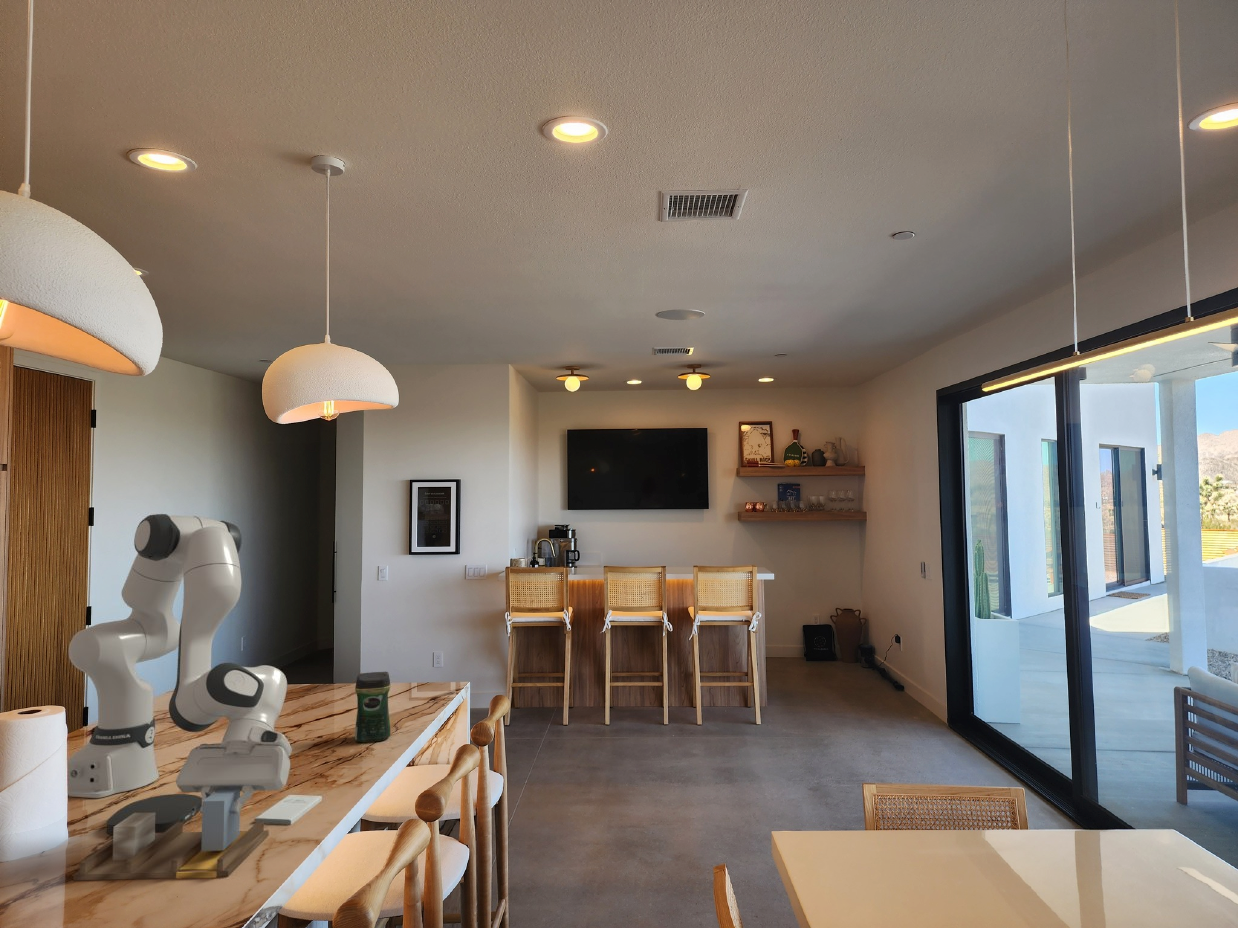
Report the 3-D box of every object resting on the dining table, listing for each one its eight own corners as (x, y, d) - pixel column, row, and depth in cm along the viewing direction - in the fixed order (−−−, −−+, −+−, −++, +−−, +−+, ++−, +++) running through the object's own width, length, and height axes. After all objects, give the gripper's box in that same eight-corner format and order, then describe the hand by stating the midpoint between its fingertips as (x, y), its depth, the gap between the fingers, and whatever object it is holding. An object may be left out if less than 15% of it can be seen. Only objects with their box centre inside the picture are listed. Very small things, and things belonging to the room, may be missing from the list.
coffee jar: (390, 732, 209) (391, 668, 210) (389, 741, 202) (390, 674, 203) (355, 735, 207) (356, 670, 208) (353, 744, 199) (354, 676, 200)
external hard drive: (253, 825, 150) (287, 801, 162) (291, 827, 149) (322, 802, 162) (254, 817, 150) (287, 793, 163) (291, 819, 149) (322, 795, 162)
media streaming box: (140, 807, 159) (141, 793, 159) (208, 805, 160) (209, 791, 160) (97, 837, 144) (97, 822, 145) (172, 835, 145) (173, 820, 146)
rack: (72, 881, 127) (73, 840, 127) (131, 838, 143) (132, 802, 144) (227, 877, 128) (228, 836, 128) (268, 835, 144) (269, 799, 145)
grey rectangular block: (201, 850, 133) (202, 801, 134) (218, 835, 139) (219, 788, 140) (223, 850, 133) (224, 800, 134) (239, 835, 139) (240, 787, 140)
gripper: (187, 736, 144) (156, 806, 133) (291, 734, 145) (268, 804, 134) (199, 751, 148) (170, 820, 138) (300, 749, 149) (278, 818, 138)
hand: (219, 812), depth 136 cm, fingers closed on grey rectangular block, 4 cm apart
